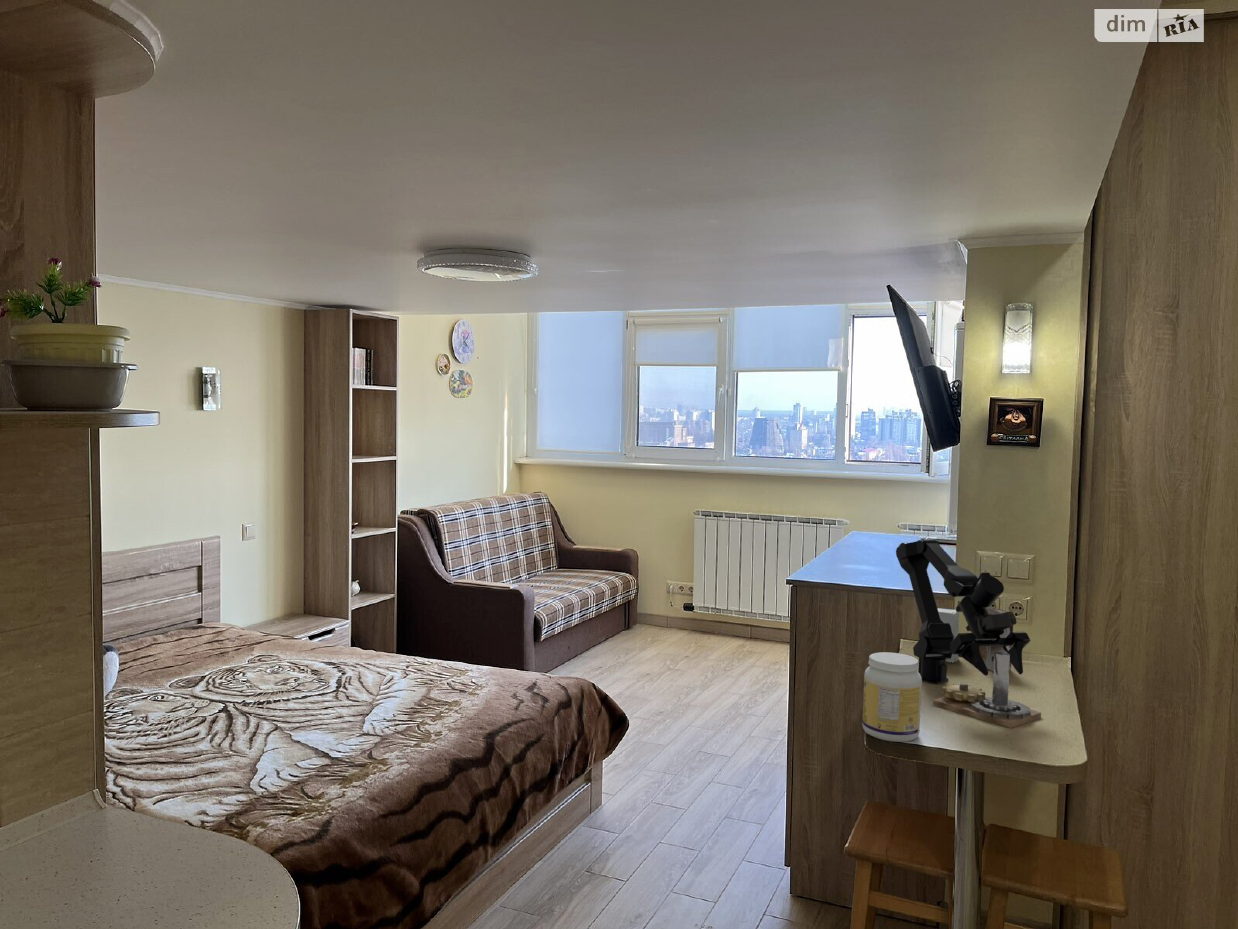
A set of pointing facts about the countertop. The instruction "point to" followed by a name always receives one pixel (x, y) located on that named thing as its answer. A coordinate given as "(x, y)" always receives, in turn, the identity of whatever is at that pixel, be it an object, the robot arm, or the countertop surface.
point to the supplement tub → (892, 697)
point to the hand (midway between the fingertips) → (1004, 674)
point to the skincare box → (953, 620)
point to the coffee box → (989, 651)
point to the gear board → (972, 704)
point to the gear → (1000, 685)
